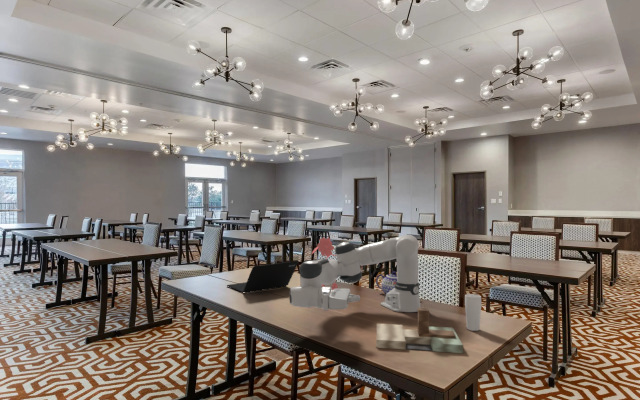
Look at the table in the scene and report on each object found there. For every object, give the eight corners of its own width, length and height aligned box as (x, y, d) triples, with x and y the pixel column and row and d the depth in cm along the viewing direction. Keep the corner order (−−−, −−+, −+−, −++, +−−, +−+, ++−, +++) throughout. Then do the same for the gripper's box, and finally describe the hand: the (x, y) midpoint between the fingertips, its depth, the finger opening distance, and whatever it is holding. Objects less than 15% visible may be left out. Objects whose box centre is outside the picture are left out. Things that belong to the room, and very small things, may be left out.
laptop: (269, 281, 270) (269, 254, 270) (299, 291, 240) (299, 260, 240) (226, 287, 249) (226, 258, 250) (252, 298, 220) (252, 265, 220)
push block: (418, 336, 149) (418, 310, 149) (417, 331, 155) (417, 306, 155) (455, 338, 146) (455, 312, 146) (452, 333, 152) (452, 308, 152)
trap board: (376, 347, 144) (376, 339, 144) (376, 330, 164) (376, 323, 164) (463, 353, 139) (463, 345, 139) (452, 334, 159) (452, 327, 159)
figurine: (316, 287, 248) (316, 235, 247) (348, 293, 231) (348, 237, 231) (301, 292, 236) (300, 237, 235) (333, 299, 219) (333, 239, 219)
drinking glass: (467, 326, 171) (467, 293, 171) (483, 329, 167) (483, 295, 167) (462, 329, 166) (462, 295, 166) (478, 333, 161) (478, 298, 162)
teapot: (370, 294, 230) (370, 270, 231) (383, 290, 242) (383, 267, 242) (406, 301, 214) (406, 275, 214) (418, 296, 225) (418, 272, 225)
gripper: (329, 298, 167) (361, 299, 165) (323, 311, 147) (358, 313, 145) (329, 284, 167) (360, 285, 165) (323, 295, 147) (358, 296, 145)
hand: (359, 298), depth 154 cm, fingers closed
